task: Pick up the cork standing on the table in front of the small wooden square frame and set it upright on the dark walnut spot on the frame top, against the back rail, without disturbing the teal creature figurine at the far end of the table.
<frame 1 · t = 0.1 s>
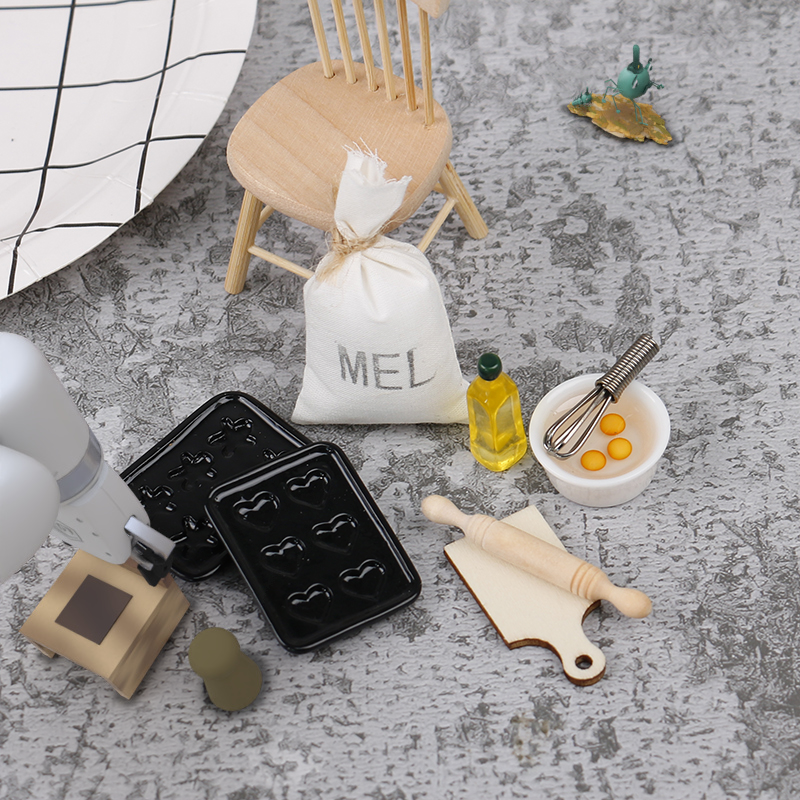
hand: (119, 552, 88), 21 cm above the table, tool pointing down, fingers open, 9 cm apart
cork: (235, 683, 102), on the table
teal creature figurine: (621, 121, 149), on the table
wooden square frame: (117, 629, 107), on the table
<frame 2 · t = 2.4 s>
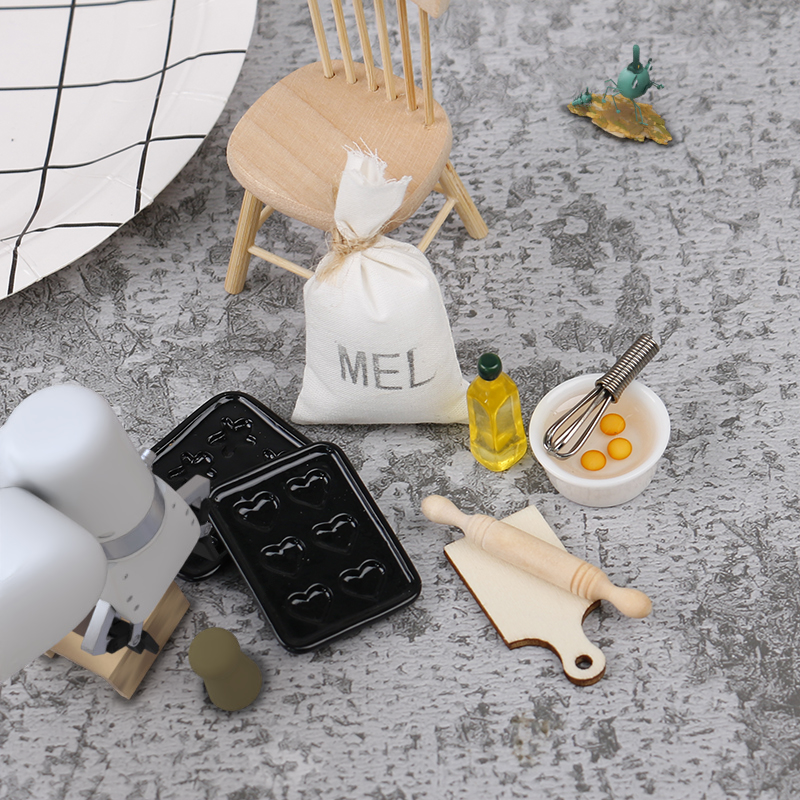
hand: (175, 597, 85), 21 cm above the table, tool pointing down, fingers open, 9 cm apart
nothing on the table moved.
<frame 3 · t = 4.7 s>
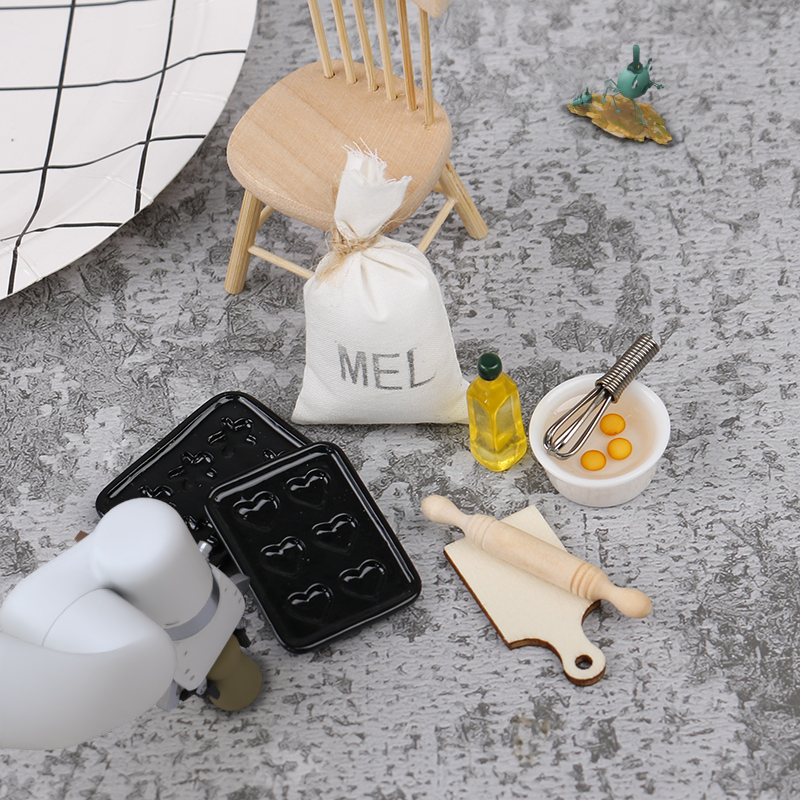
hand: (222, 664, 97), 6 cm above the table, tool pointing down, fingers closed on cork, 5 cm apart
cork: (235, 683, 102), on the table, touching gripper
everything else where it was.
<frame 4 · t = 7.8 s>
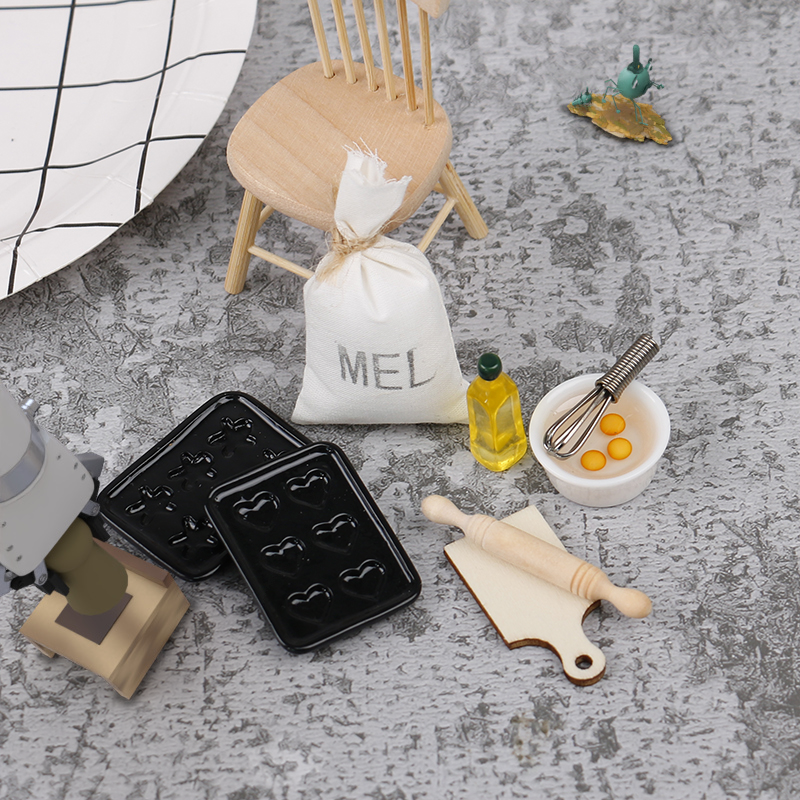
hand: (75, 559, 86), 23 cm above the table, tool pointing down, fingers closed on cork, 5 cm apart
cork: (97, 586, 91), point 17 cm above the table, touching gripper
everything else where it was.
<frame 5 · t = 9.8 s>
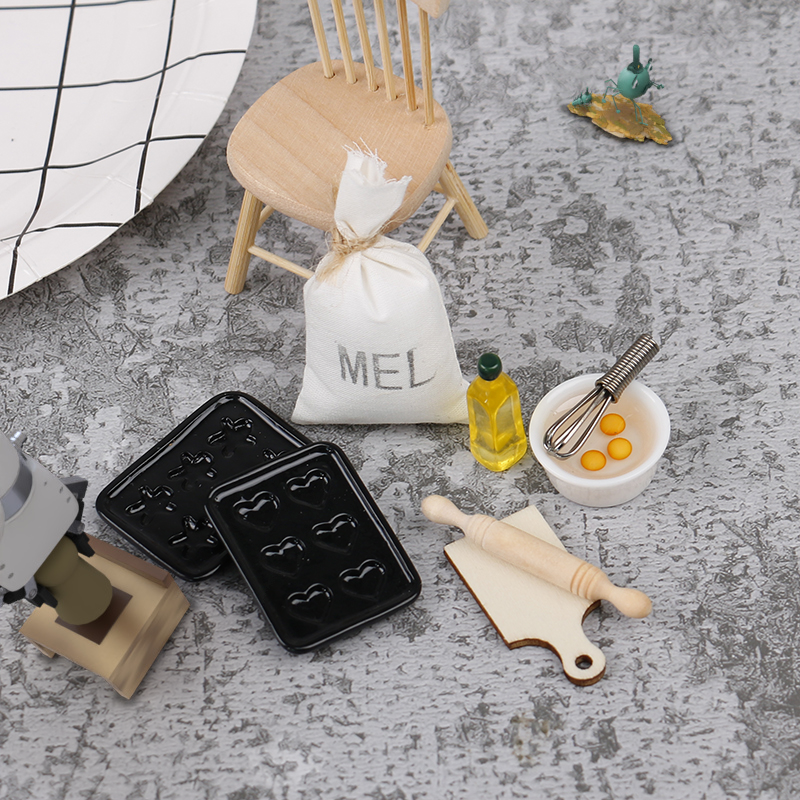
hand: (63, 574, 93), 16 cm above the table, tool pointing down, fingers closed on cork, 5 cm apart
cork: (84, 597, 98), point 10 cm above the table, touching gripper
everything else where it was.
when the fingers open (13 cm above the table, at t = 11.0 s): cork stays where it is, resting on wooden square frame.
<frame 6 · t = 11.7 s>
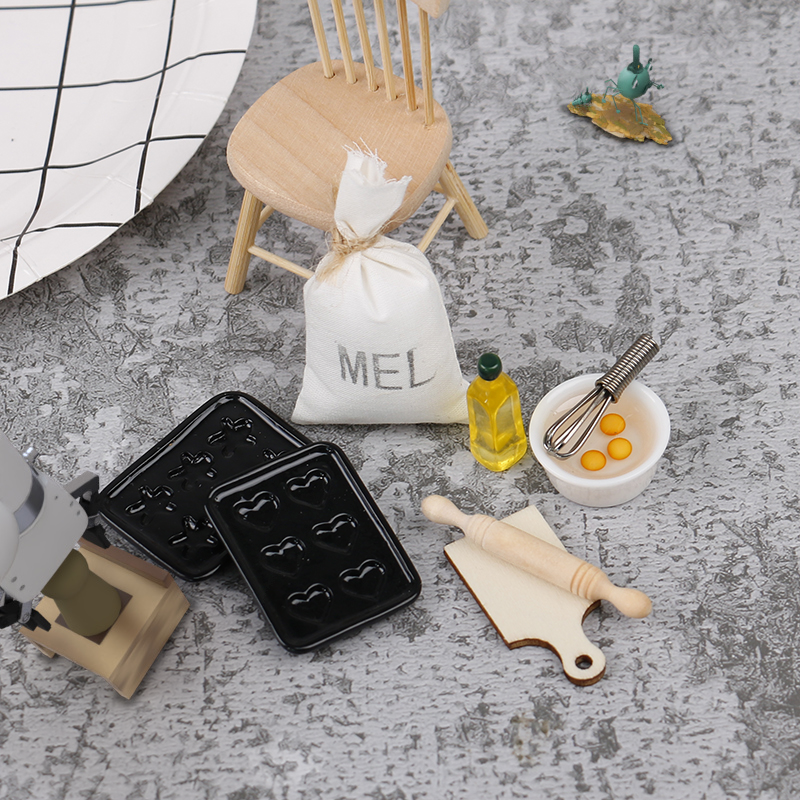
hand: (69, 581, 95), 14 cm above the table, tool pointing down, fingers open, 9 cm apart
cork: (93, 609, 101), point 7 cm above the table, touching wooden square frame
everything else where it was.
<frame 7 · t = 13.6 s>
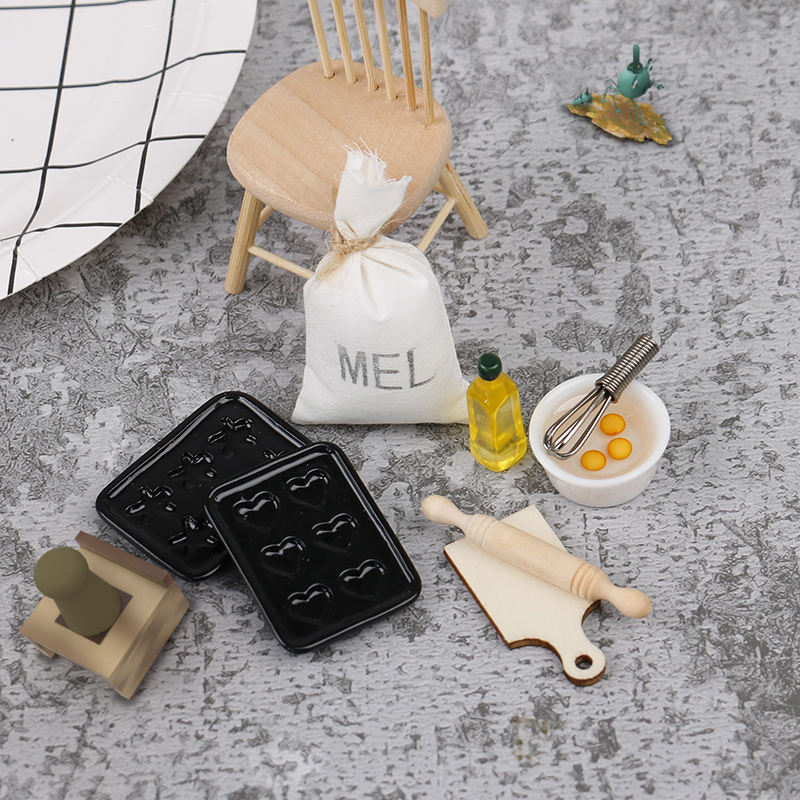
nothing on the table moved.
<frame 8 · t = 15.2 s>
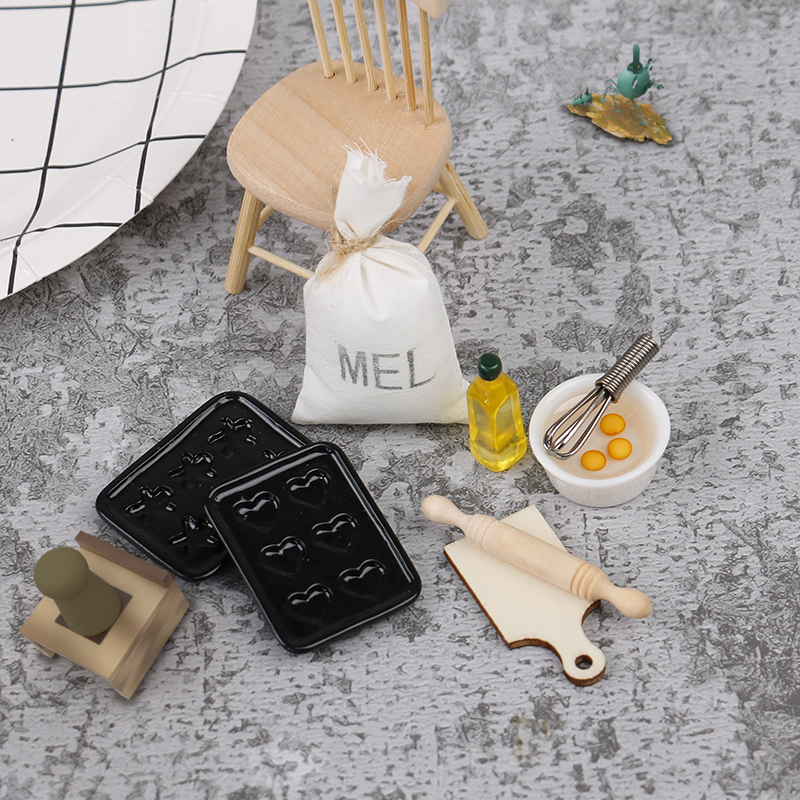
nothing on the table moved.
at the end: cork 0.2 cm off-centre on the wooden square frame, point 7.0 cm above the wooden square frame's base; cork tilted 0°; teal creature figurine moved 0.2 cm from its start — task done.
